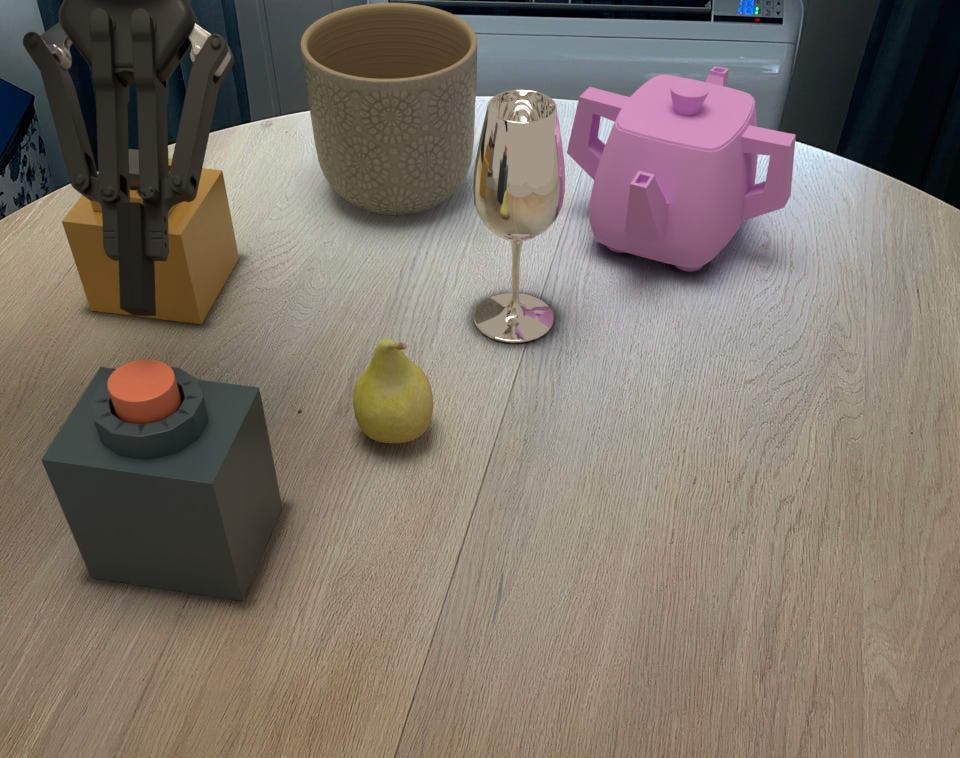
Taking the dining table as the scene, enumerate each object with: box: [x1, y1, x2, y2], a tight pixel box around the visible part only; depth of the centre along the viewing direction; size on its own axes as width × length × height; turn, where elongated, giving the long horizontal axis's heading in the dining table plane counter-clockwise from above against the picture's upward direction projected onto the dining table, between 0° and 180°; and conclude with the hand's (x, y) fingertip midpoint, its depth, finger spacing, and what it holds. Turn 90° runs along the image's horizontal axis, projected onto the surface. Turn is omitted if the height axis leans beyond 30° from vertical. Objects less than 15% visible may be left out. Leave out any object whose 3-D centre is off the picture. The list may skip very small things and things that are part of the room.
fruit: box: [352, 338, 435, 444], centre depth 86 cm, size 7×8×12 cm
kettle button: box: [129, 148, 140, 190], centre depth 95 cm, size 4×4×2 cm
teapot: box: [566, 65, 797, 272], centre depth 104 cm, size 19×18×15 cm
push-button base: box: [61, 157, 240, 325], centre depth 100 cm, size 11×11×11 cm
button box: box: [40, 366, 283, 602], centre depth 78 cm, size 12×10×14 cm
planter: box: [300, 2, 478, 216], centre depth 109 cm, size 17×17×15 cm
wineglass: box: [472, 89, 566, 344], centre depth 93 cm, size 8×8×20 cm
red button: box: [107, 359, 181, 425], centre depth 72 cm, size 4×4×2 cm
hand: (138, 311), depth 70 cm, fingers closed
